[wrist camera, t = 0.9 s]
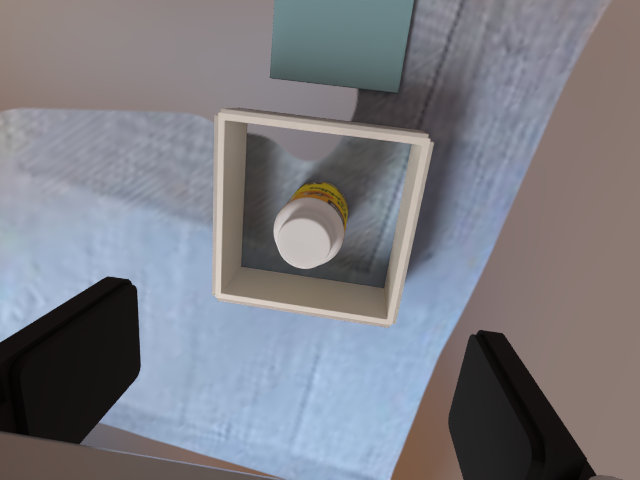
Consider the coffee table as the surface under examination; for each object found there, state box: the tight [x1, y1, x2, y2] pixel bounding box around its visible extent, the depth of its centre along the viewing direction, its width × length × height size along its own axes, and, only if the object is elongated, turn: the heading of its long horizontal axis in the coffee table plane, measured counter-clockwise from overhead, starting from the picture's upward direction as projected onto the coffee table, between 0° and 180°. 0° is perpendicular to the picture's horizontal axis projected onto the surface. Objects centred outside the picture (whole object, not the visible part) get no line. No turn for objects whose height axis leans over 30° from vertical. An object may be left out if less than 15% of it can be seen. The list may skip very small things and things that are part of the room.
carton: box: [212, 108, 434, 328], centre depth 34 cm, size 17×17×6 cm
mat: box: [270, 0, 414, 93], centre depth 31 cm, size 11×11×1 cm
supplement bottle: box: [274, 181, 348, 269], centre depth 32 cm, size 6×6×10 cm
